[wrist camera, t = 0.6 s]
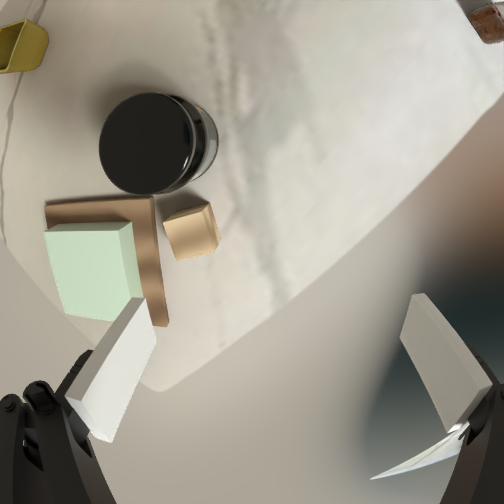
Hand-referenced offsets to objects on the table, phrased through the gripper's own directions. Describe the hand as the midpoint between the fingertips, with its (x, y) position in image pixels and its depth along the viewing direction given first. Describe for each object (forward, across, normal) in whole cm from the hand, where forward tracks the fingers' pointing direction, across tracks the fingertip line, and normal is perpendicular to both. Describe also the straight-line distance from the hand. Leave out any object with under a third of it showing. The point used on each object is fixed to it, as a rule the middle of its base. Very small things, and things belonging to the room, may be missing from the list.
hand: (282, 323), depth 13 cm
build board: (+24, -26, -8) cm, 36 cm away
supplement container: (+25, -11, +9) cm, 29 cm away
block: (+24, -10, -2) cm, 26 cm away
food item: (+25, +42, +37) cm, 61 cm away
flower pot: (+25, -39, +31) cm, 55 cm away
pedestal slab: (+23, -26, -8) cm, 35 cm away
